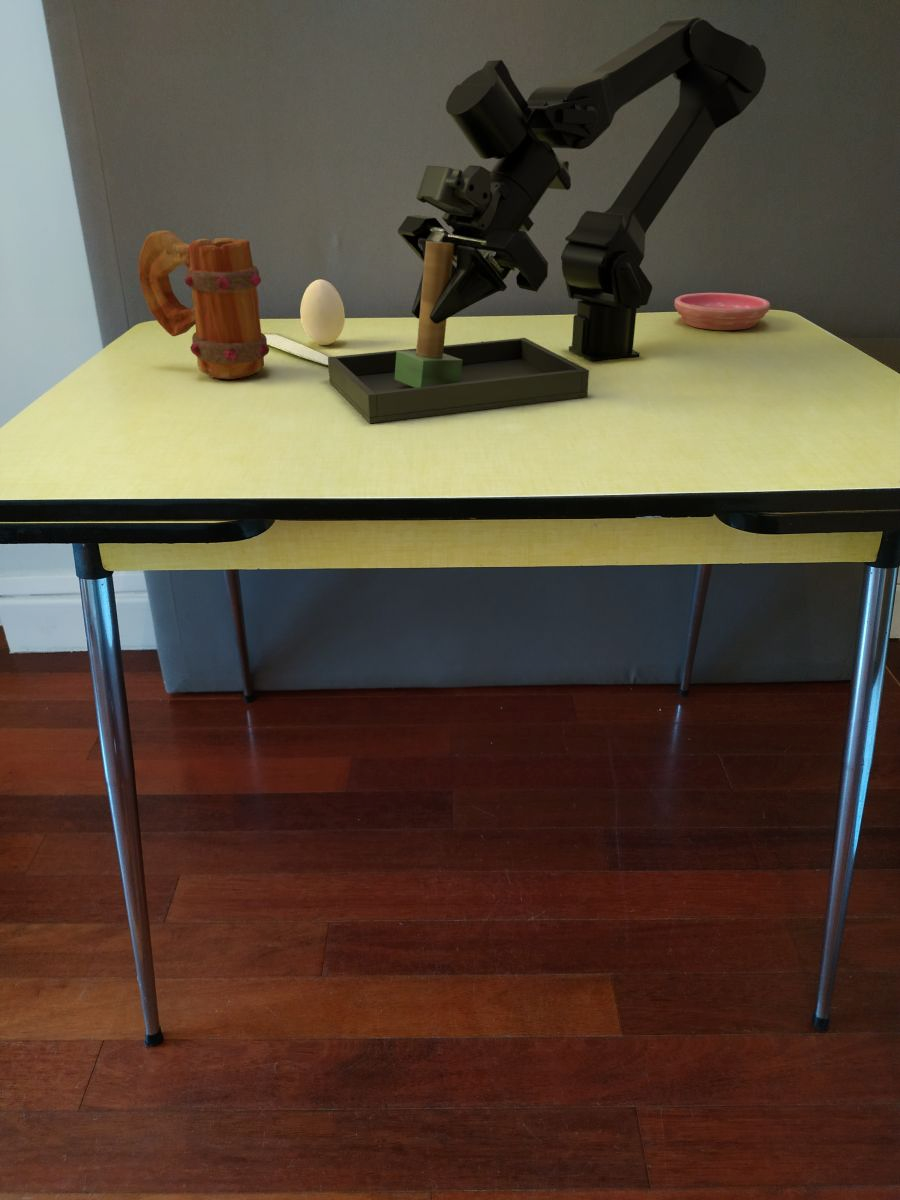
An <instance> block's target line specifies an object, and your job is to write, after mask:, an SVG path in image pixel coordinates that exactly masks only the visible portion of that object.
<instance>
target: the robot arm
mask: <svg viewBox="0 0 900 1200" xmlns="http://www.w3.org/2000/svg"><path fill="white" fill-rule="evenodd" d="M671 75H672V77H673V78H674V79H675V80H676V81H677V82H679V86H678V105H677V108H676V110H675V111H674V113H673V114H672V116H671V117H670V119H669V120H668V121H667V123H666V124H665V126H664V127H663V129H662V130H661V131H660V134H658V136H657V138H656V139H655V141H654V142H653V144H652V145H651V147H650V148H649V149H648V151H647V152H646V154H645V155H644V157H643V158H642V160H641V161H640V163H639V164H638V166H637V168H636V169H635V170H634V172H633V173H632V175H631V176H630V177H629V179H628V181H627V182H626V183H625V185H624V186H623V188H622V190H621V191H620V193H619V194H618V196H617V197H616V198H615V200H614V201H613V203H612V205H611V206H610V207H609V208H607V210H605V211H595V210H586V211H585V212H584V213H582V215H581V216H580V218H579V220H578V222H577V224H576V226H575V228H574V229H573V230H572V231H571V233H570V234H567V236H565V239H564V240H565V241H566V242H567V243H566V244H565V246H564V248H563V250H562V252H561V256H560V260H561V271H562V276H563V279H564V281H565V286H566V290H567V295H568V298H569V299H570V300H578V301H577V309H576V314H574V316H573V321H572V323H573V324H572V338H571V345H569V346H568V351H569V352H571V353H573V354H575V355H577V356H579V357H581V358H583V359H585V360H588V361H590V362H593V363H599V362H606V361H607V362H608V361H617V360H626V359H634V358H639V357H640V356H641V352H639V351H637V350H635V349H634V343H635V342H634V341H635V329H636V321H637V320H636V319H637V309H640V308H641V307H643V306H647V305H648V303H649V301H650V297H651V294H652V291H653V284H652V283H651V282H650V280H649V279H648V277H647V276H646V274H645V273H644V271H643V270H642V268H641V264H642V263H643V260H644V258H645V253H646V251H645V249H646V233H647V231H648V230H649V228H650V227H651V225H652V224H653V222H654V221H655V219H656V218H657V217H658V215H659V213H660V212H661V210H662V209H663V207H664V206H665V205H666V203H667V202H668V200H669V199H670V197H671V195H672V194H673V193H674V191H675V190H676V188H677V187H678V186H679V184H680V182H681V181H682V180H683V178H684V177H685V175H686V173H687V172H688V171H689V169H690V167H691V166H692V164H693V163H694V162H695V160H696V159H697V157H698V156H699V154H700V153H701V151H702V150H703V149H704V146H706V144H707V142H708V141H709V139H710V138H711V136H712V135H713V134H714V132H715V131H717V130H718V129H719V128H721V127H723V126H725V125H726V124H727V123H729V122H731V121H733V120H734V119H736V118H737V117H739V116H740V115H741V114H742V113H744V111H745V110H746V109H747V108H748V107H749V105H751V103H752V102H753V101H754V100H755V99H756V98H757V96H758V95H759V94H760V92H761V90H762V88H763V86H764V83H765V79H766V75H767V66H766V61H765V60H764V58H763V55H762V52H761V51H760V49H759V48H758V47H757V46H755V44H748V43H747V42H745V41H744V40H742V39H740V38H738V37H735V36H733V35H731V34H728V33H727V32H725V31H722V30H720V29H717V28H716V27H714V26H713V25H712V24H711V23H710V22H709V21H708V20H705V19H703V18H702V17H699V16H695V17H694V16H693V17H683V18H682V17H681V18H672V19H669V20H667V21H666V22H664V23H662V24H661V26H659V28H658V29H657V30H655V31H654V32H652V33H651V34H649V35H647V36H646V37H644V38H643V39H641V40H639V41H637V42H636V43H634V44H632V45H631V46H630V47H628V48H627V49H625V50H623V51H622V52H621V53H619V54H617V55H615V56H613V57H612V58H611V59H609V60H607V61H605V62H604V63H603V64H601V65H599V66H598V67H596V68H594V69H593V70H592V71H589V72H586V73H583V74H579V75H574V76H570V77H565V78H563V79H558V80H555V81H553V82H550V83H546V84H543V85H541V86H538V87H537V88H536V89H534V91H532V92H531V93H530V95H529V96H528V98H527V100H526V99H525V97H524V96H523V95H522V92H521V91H520V89H519V88H518V87H517V85H516V82H514V80H513V78H512V76H511V73H510V70H509V68H508V67H507V66H506V64H505V62H504V61H503V60H502V59H498V60H497V59H496V60H486V63H485V64H484V66H483V67H482V68H481V69H479V70H477V71H475V72H473V73H472V74H470V75H469V76H468V77H467V78H465V79H464V80H463V81H462V82H461V83H459V84H456V86H455V87H454V88H453V89H452V90H451V92H450V94H449V96H448V98H447V100H446V104H445V110H446V113H447V114H448V115H449V116H450V118H451V119H452V120H453V122H454V123H455V124H456V126H457V127H458V129H459V130H460V132H461V133H462V135H463V136H464V137H465V138H466V140H467V141H468V143H469V144H470V146H471V147H472V149H473V150H474V151H475V153H476V154H477V155H478V156H479V158H481V159H483V160H489V159H495V160H497V161H496V162H495V164H494V165H493V167H492V169H491V170H488V169H487V168H485V167H483V166H482V165H473V164H469V165H468V166H467V167H466V168H465V169H464V170H461V169H456V168H453V167H449V166H440V165H439V166H438V165H426V167H425V169H424V172H423V175H422V179H421V182H420V184H419V188H418V191H417V194H416V200H417V201H419V202H421V203H423V204H425V203H427V204H429V205H430V206H432V207H434V208H436V209H438V210H440V211H441V212H444V214H443V216H441V219H442V220H443V221H444V223H445V224H446V225H447V226H448V227H451V228H452V231H451V233H449V232H448V231H447V230H446V229H445V227H444V226H443V225H442V224H441V222H440V221H439V220H438V219H437V218H436V217H434V216H433V217H432V216H427V215H419V214H415V215H406V218H405V219H404V220H403V222H402V223H401V225H400V226H399V227H398V229H397V234H398V235H399V236H400V238H402V240H404V242H405V243H406V244H407V245H408V247H410V249H411V250H412V251H413V252H414V253H415V254H416V256H417V257H418V258H419V259H420V260H421V261H422V262H423V263H424V259H425V248H426V241H438V242H446V243H452V244H454V251H453V261H452V271H451V278H450V280H449V282H448V283H447V285H446V287H445V289H444V290H443V292H442V294H441V295H440V297H439V299H438V300H437V302H436V304H435V306H434V308H433V310H432V312H431V314H430V319H431V320H432V321H433V322H434V323H435V324H438V323H440V322H442V321H444V320H445V319H447V320H448V319H449V318H450V317H452V316H454V315H456V314H457V313H459V312H461V311H463V310H465V309H466V308H469V307H470V306H472V305H474V304H476V303H479V302H480V301H481V300H484V299H486V298H489V297H490V296H492V295H494V294H496V293H498V292H505V291H506V289H507V288H508V285H506V283H505V281H506V279H507V277H508V276H509V274H510V273H514V272H516V269H517V270H518V271H519V272H518V274H517V275H516V276H515V278H516V285H517V286H518V288H519V289H522V290H526V291H531V292H534V293H535V292H536V293H537V292H539V290H540V289H541V287H542V286H543V284H544V282H545V281H546V280H547V279H548V276H549V275H548V271H549V269H548V268H549V262H548V261H547V259H546V258H545V256H544V255H543V253H542V252H541V250H540V249H539V248H538V247H537V245H536V244H535V243H534V242H533V240H532V239H531V237H530V235H528V233H527V232H529V231H530V230H532V229H531V228H532V227H533V226H534V224H535V223H534V222H533V220H532V219H531V217H530V215H531V214H532V212H533V211H534V209H535V208H536V207H537V205H538V204H539V202H540V201H541V199H542V198H543V196H544V195H545V193H546V192H547V190H548V189H552V190H563V191H569V190H570V189H571V187H572V181H571V180H572V179H571V175H570V172H569V166H570V162H569V161H568V160H560V158H559V157H558V155H557V154H556V152H555V151H554V149H568V150H583V149H586V148H588V147H590V146H591V145H592V144H593V143H594V142H596V140H598V139H599V138H600V137H601V136H602V135H603V134H604V133H605V132H606V131H607V130H608V129H609V128H610V127H611V125H612V123H613V120H614V117H615V114H616V113H617V112H618V111H620V110H621V108H622V107H624V106H626V105H627V104H628V103H630V102H631V101H633V100H635V99H636V98H638V97H639V96H641V95H642V94H643V93H645V92H647V91H648V90H650V89H651V88H653V87H654V86H656V85H658V84H660V83H661V82H662V81H664V80H665V79H667V78H668V77H670V76H671ZM423 271H424V267H423V269H422V273H421V277H420V281H419V284H418V288H417V292H416V295H415V297H414V298H415V299H414V302H413V305H412V309H411V313H412V315H413V317H415V318H416V319H417V320H419V316H420V304H421V293H422V282H423Z"/></svg>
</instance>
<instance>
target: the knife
mask: <svg viewBox="0 0 900 1200" xmlns="http://www.w3.org/2000/svg"><path fill="white" fill-rule="evenodd" d="M261 333H262V334H264V335H265V336H266V338H267V346H269V347H270V346H271V347H273V348H276V349H279V350H281V351H284V352H287V353H289V354H292V355H295V356H298V357H300V358H303V359H306V360H308V361H311V362H316V363H319V364H322V365H325V366H328V357H329V356H328V355H325V354H323V353H321V352H319V351H318V350H317V351H316V349H312V348H310V347H308V346H306V345H304V344H301V343H299V342H296V341H294V340H291V339H288V338H286V337H284V336H281V335H278V334H275V333H273V332H270V331H264V330H261Z"/></svg>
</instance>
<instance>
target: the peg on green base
mask: <svg viewBox="0 0 900 1200" xmlns="http://www.w3.org/2000/svg"><path fill="white" fill-rule="evenodd" d="M453 251H454V244H452V243H446V242H438V241H426V248H425V259H424V262H423V268H424V271H423V270H422V273H423V282H422V293H421V304H420V316H419V319H418V328H417V339H416V348H417V350H416V351H397V352H396V365H395V377H394V379H395V380H397V381H399V382H402V383H404V384H407V385H409V386H412V387H414V388H416V387H425V386H434V385H443V384H452V383H460V379H461V370H462V361H463V360H462V359H459V358H456V357H453V356H450V355H447V354H444V353H443V351H444V346H445V339H446V331H447V330H446V329H447V321H448V318H447V319H445V320H444V321H442V322H440V323H438V324H435V323H434V322H433V321H432V320H431V319H430V314H431V312H432V310H433V308H434V306H435V304H436V302H437V300H438V299H439V297H440V295H441V294H442V292H443V290H444V289H445V287H446V285H447V283H448V282H449V280H450V278H451V271H452V261H453Z"/></svg>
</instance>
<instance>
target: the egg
mask: <svg viewBox="0 0 900 1200" xmlns="http://www.w3.org/2000/svg"><path fill="white" fill-rule="evenodd" d="M299 313H300V322H301V325H302V329H303V330H304V332H305V334H306V335H307V337H308V338H309V339H310V340H311V341H312V342H314V343H315V344H317V345H320V346H329V345H331V344H333V343H334V342H335V341H337V340H338V338H339V337H340V336H341V334H342V332H343V331H344V327H345V321H346V313H345V307H344V303H343V299H342V298H341V296H340V294H339V292H338V290H337V289H336V288H335V286H334V285H333V284H332V283H330V282H329V281H327V280H325V279H316V280H314V281H312V282H311V283H310V284H309V285H308V286H307V287H306V289H305V291H304V293H303V295H302V299H301V301H300V312H299Z"/></svg>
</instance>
